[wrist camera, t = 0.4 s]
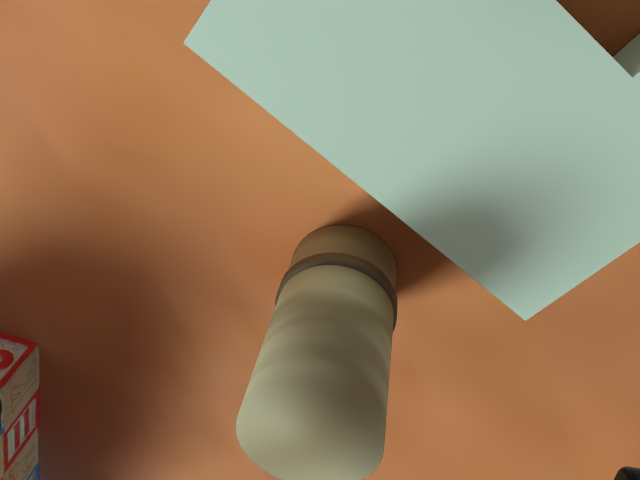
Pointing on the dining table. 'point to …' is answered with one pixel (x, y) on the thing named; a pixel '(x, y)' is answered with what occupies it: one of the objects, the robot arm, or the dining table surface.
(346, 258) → the peg
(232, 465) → the dining table surface
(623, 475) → the robot arm
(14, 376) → the beige multicoloured rectangular block
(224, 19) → the board
